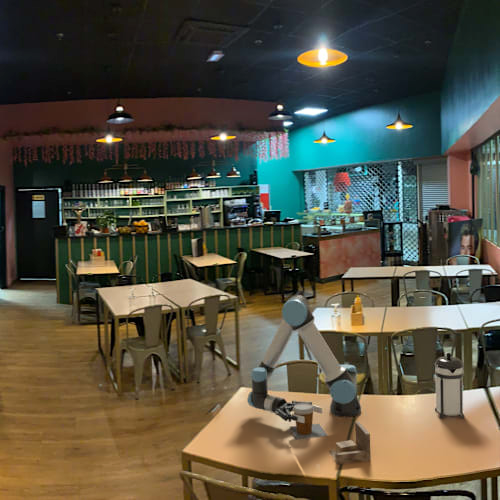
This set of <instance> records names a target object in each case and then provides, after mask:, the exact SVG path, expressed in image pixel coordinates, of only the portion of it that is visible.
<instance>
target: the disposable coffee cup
mask: <svg viewBox="0 0 500 500" xmlns="http://www.w3.org/2000/svg"><path fill="white" fill-rule="evenodd" d="M313 405H314V404H313V403H312V404H309V403H298V404H295V405H294V408H293V411H292V412H293V414H296V415H300V416H304V417H305V423H301V422H298V421H295V426H297V432H298V434H300V435H308V434H311V432H312V424H313V420H314V419H313V416H314V408H313Z"/></svg>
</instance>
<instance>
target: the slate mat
mask: <svg viewBox="0 0 500 500" xmlns="http://www.w3.org/2000/svg"><path fill="white" fill-rule="evenodd" d="M289 429H290V431H291V433H292V435H293V437H294V438H295V440H302V439H303V440H305V439H313V438H322V437H323V438H324V437H328V434H327V433H326V431H325V430H324V428H323V427H322V426H321V424H320V423H312V432H311V434H308V435H300V434H298V432H297V426H296V425H292V426H289Z"/></svg>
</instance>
